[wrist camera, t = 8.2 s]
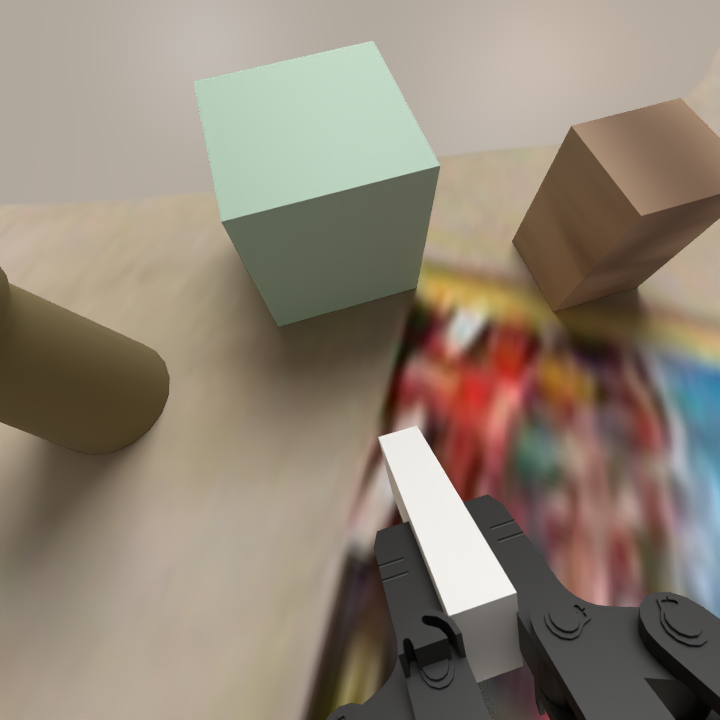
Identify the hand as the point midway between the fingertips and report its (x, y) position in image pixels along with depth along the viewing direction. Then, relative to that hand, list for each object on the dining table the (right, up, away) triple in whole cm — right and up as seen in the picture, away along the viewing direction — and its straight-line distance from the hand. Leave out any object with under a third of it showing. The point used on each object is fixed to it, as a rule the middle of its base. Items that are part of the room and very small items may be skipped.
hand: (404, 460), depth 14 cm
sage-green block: (-4, +10, +8) cm, 13 cm away
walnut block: (+10, +9, +7) cm, 16 cm away
